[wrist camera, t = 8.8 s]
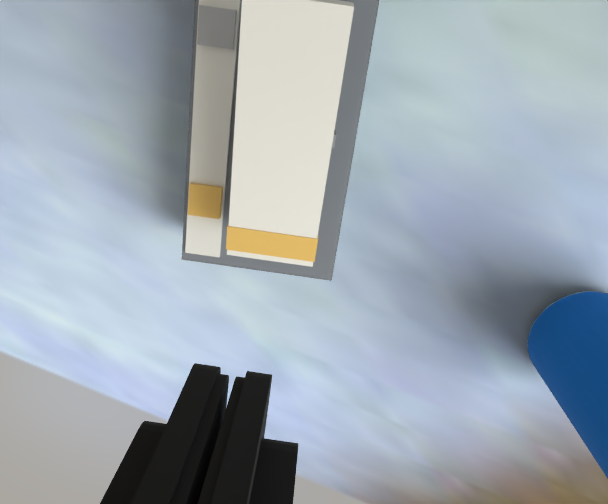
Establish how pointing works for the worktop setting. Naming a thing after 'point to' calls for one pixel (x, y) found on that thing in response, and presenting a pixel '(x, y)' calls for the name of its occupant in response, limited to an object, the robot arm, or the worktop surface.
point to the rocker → (285, 125)
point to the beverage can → (576, 364)
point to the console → (220, 136)
